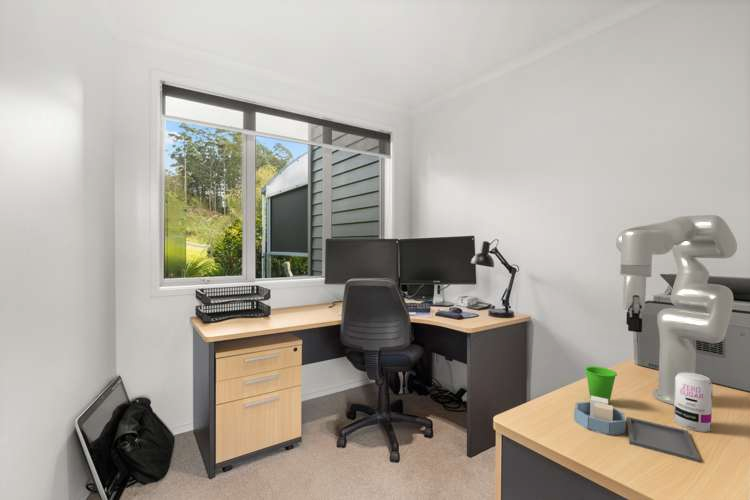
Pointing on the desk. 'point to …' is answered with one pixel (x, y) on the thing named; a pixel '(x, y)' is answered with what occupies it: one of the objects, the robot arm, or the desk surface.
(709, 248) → the robot arm
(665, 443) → the tray
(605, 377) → the cup
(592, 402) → the white block
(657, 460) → the desk surface
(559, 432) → the desk surface
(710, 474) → the desk surface
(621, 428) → the bowl
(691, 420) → the supplement can
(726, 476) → the desk surface
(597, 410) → the beige rectangular block
